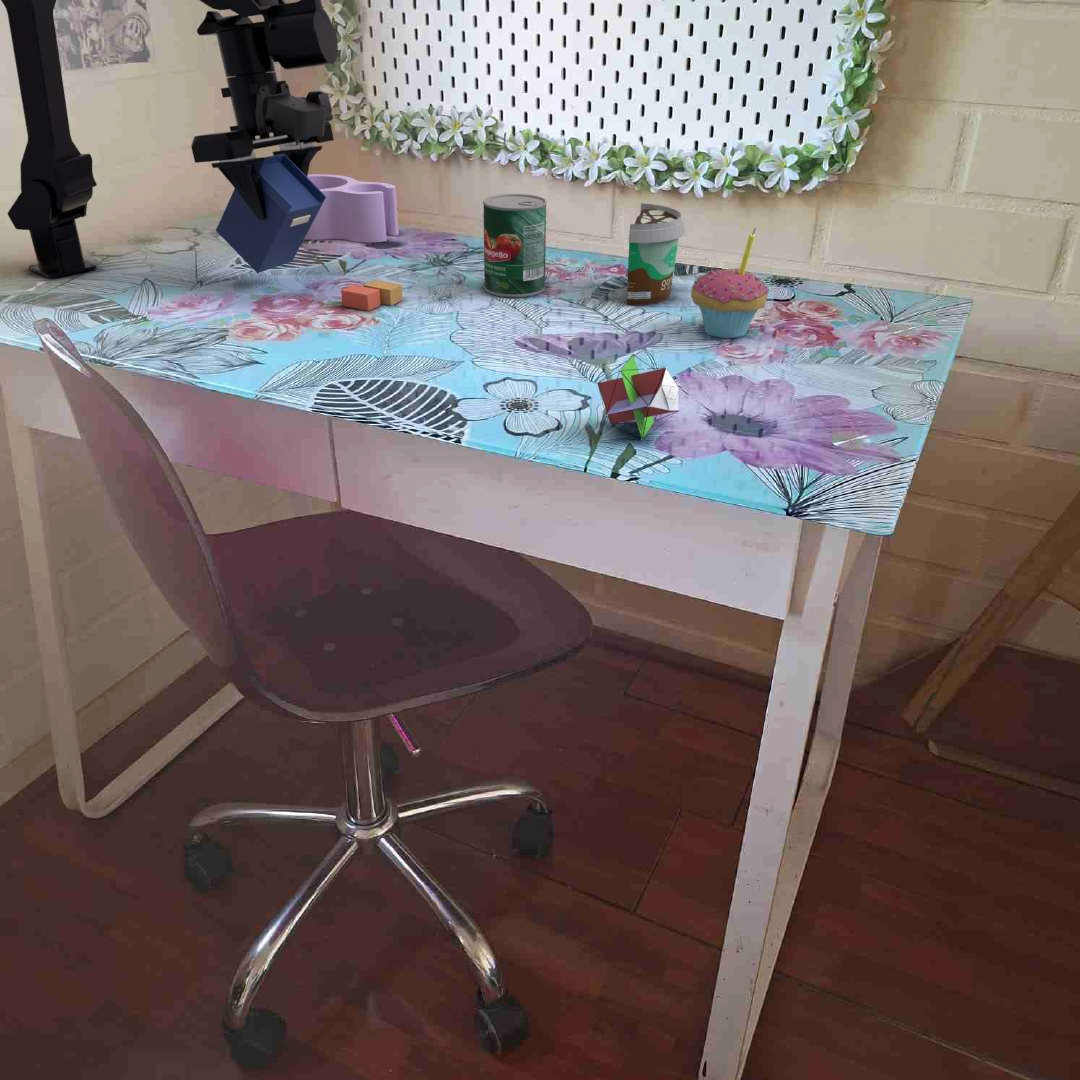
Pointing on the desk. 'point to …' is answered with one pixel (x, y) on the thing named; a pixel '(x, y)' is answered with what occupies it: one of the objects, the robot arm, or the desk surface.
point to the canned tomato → (514, 245)
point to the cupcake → (729, 298)
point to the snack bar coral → (360, 297)
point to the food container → (653, 254)
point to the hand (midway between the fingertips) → (281, 214)
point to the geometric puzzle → (639, 396)
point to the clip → (354, 210)
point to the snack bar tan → (387, 291)
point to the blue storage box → (273, 216)
